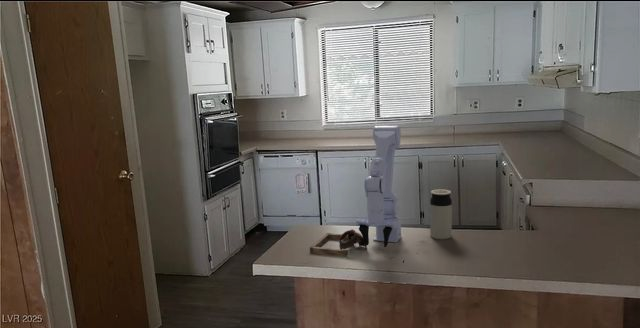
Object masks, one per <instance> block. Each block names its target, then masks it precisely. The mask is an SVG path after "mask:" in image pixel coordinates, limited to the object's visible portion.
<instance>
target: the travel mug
mask: <svg viewBox="0 0 640 328" xmlns="http://www.w3.org/2000/svg"><path fill="white" fill-rule="evenodd" d="M451 193H452V191H451V190H448V189H444V188H443V189H442V188H441V189H440V188H439V189H433V190H431V191H430V194H431V197H430V200H429V201H430V202H429V205H430V206H429V207H430V208H429V210H430V211H429V212H430V213H429V214H430V215H429V216H430V217H429V218H430V219H429V220H430V223H429V225H430V228H429V229H430V231H429V232H430V234H429V235H430V237H432V238H433V239H436V240H448V239H450V238H452V236H453V235H452V230H453V229H452V228H453V227H452V221H453V219H452V218H453V217H452V214H453V213H452V212H453V211H452V208H453V207H452V200H453V199H452V198H451Z"/></svg>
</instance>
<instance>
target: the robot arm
mask: <svg viewBox="0 0 640 328" xmlns="http://www.w3.org/2000/svg"><path fill="white" fill-rule="evenodd" d="M401 133H402V131H401V127H400V126H399V125H375V126H374V127H373V129H372V139H373V141H374V144H375V147H376V148H375V157H374V158H373V159H372V160H371V162H370V167H369V172H368V174H367V175H368V176H367V177H365V180H364V191H365V197H366V199H367V200H366V201H367V202H366V205H367V207H366V208H367V218H357V219H356V220H355V226H359V227H358V231H359V232H360V234H361V235H362V237H363V238H364V242H365V246H366V247H367V246H369V244H370V241H369V240H370V239H369V237H370V236H369V229H370V227H375V235H374V237H373V239H372V241H376V242H378V241H379V242H383V247H384V248H387V247H388V242H389V243H398V242H399V240H400V239H401V238H402V219H401V218H400V217H399V216H398V217H397V215H399V208H400V206H399V205H400V204H399V197H398V195H396V193H394V192H393V191H392V190H393V177H394V175H393V174H394V163H395V161H394V160H395V154H396V150H398V149H400V146H401V135H402V134H401Z"/></svg>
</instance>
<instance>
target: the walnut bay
mask: <svg viewBox="0 0 640 328" xmlns="http://www.w3.org/2000/svg"><path fill="white" fill-rule="evenodd" d="M342 234H343V233H331V232H327V233H326V234H324V235H323V236H322V237H321V238H319V239H318V240H317V241H315V242H314V243H313V244H312V245H311V246H310V247H309V253H311V254H319V255H327V256H337V257H348V256H349V255H348V253H349V252H348V249H342V250H341V249H340V248H330V247H322V246H323V245H324V244H326V243H327V242H328V241H329V240H336V241H337V240H338V241H339V240H340V239H339V238H340V236H341V235H342ZM349 240H350V239H349V238H348V235H347V236H345V237H344V238H343V239H342V241H344V242H347V241H349Z"/></svg>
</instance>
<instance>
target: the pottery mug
mask: <svg viewBox="0 0 640 328" xmlns="http://www.w3.org/2000/svg"><path fill="white" fill-rule="evenodd" d="M341 234H342V235H341V236H340V238H339V239H340V240H338V243H339V249H341V250H348V249H350V248H356V246H355V244H358V247H364V250H365V251H368V247H367V246H365V242H364V238H363V236H362V234H361V233H359V232H358V231H357V232H356V230H354V229H349V230H346V231H344V232H343V233H341ZM347 235H348V238H349V239H350V240H349V241H343V240H342V239H343V238H344V237H345V236H347Z"/></svg>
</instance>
